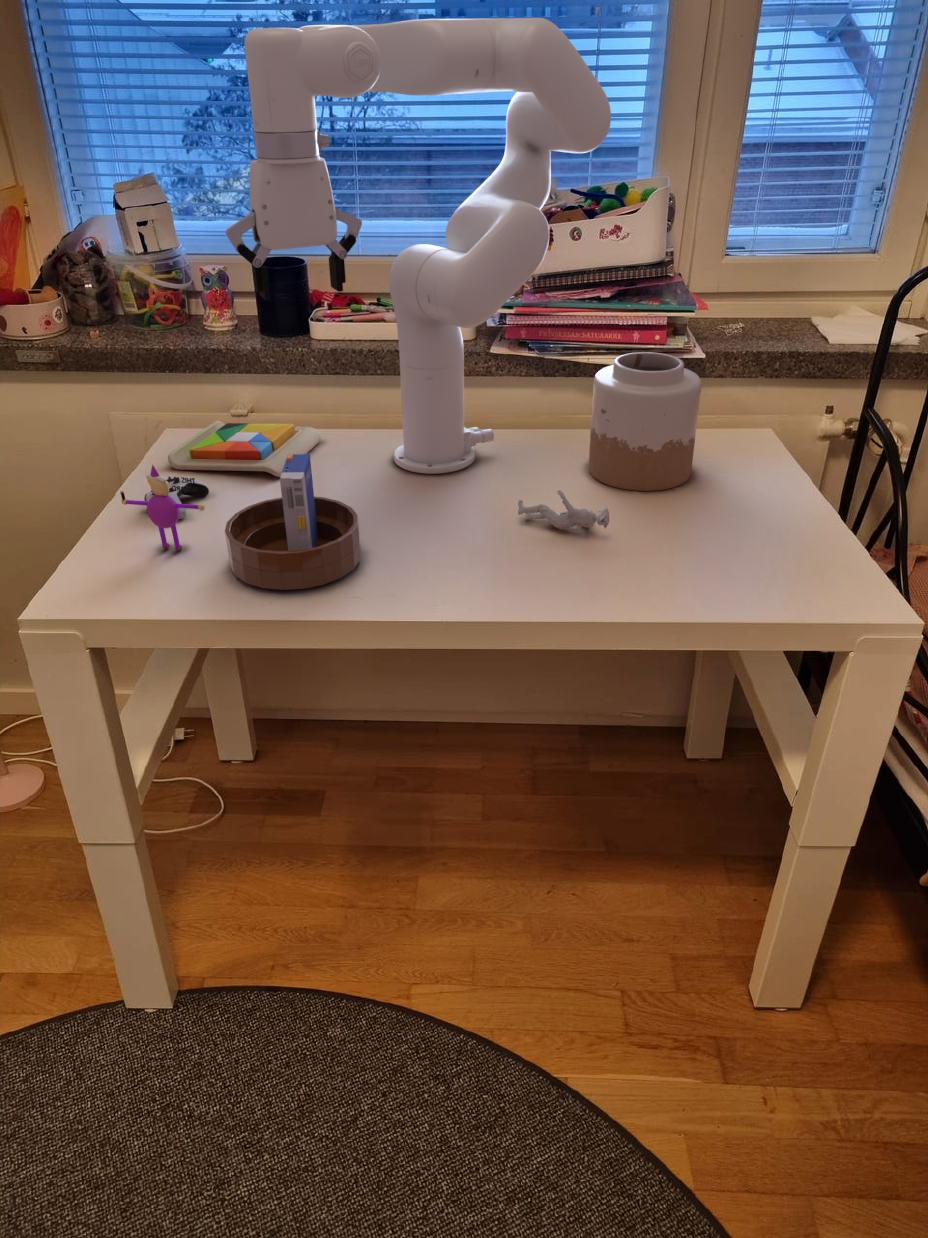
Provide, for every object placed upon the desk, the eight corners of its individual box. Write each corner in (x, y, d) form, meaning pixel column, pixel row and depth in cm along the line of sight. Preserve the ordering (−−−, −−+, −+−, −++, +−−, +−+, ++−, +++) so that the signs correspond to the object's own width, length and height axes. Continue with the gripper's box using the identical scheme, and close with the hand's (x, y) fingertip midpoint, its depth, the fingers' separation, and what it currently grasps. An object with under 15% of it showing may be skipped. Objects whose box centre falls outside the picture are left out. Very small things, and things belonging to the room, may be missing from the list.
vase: (672, 499, 137) (685, 384, 128) (572, 480, 143) (578, 368, 135) (703, 462, 149) (716, 354, 140) (609, 446, 155) (617, 341, 146)
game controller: (185, 515, 132) (151, 485, 131) (164, 538, 135) (130, 508, 133) (214, 487, 140) (182, 458, 139) (193, 509, 143) (162, 481, 141)
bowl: (338, 524, 131) (334, 487, 129) (378, 576, 119) (376, 536, 116) (219, 548, 126) (212, 509, 123) (248, 605, 113) (242, 564, 110)
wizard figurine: (216, 549, 126) (202, 462, 119) (206, 560, 123) (191, 472, 117) (136, 542, 128) (118, 456, 121) (124, 553, 125) (105, 466, 119)
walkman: (297, 537, 127) (287, 451, 121) (318, 537, 127) (309, 451, 121) (289, 566, 120) (278, 476, 114) (311, 565, 120) (301, 476, 114)
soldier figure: (535, 515, 135) (617, 502, 130) (535, 548, 134) (618, 535, 129) (512, 494, 129) (598, 478, 123) (512, 528, 127) (598, 513, 122)
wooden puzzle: (220, 430, 163) (217, 409, 161) (323, 440, 159) (321, 419, 157) (166, 469, 149) (162, 447, 147) (278, 481, 144) (275, 459, 143)
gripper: (345, 140, 122) (355, 280, 131) (209, 148, 116) (228, 294, 125) (365, 146, 117) (374, 292, 126) (222, 154, 111) (242, 307, 120)
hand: (301, 293), depth 125 cm, fingers open, 9 cm apart
